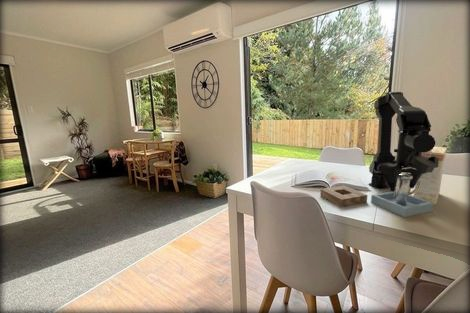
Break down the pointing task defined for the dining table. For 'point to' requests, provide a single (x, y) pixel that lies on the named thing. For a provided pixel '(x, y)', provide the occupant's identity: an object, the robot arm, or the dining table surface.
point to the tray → (412, 207)
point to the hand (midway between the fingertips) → (402, 189)
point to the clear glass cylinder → (403, 189)
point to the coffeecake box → (431, 177)
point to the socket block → (343, 196)
